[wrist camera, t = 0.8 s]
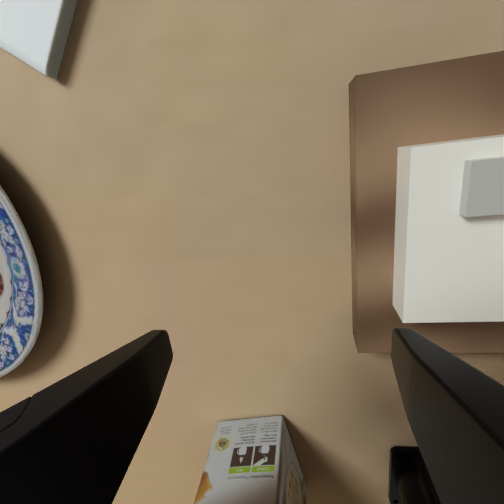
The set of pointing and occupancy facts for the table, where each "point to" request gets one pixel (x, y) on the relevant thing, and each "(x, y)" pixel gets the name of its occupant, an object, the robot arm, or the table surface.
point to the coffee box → (252, 465)
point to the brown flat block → (385, 179)
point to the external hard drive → (36, 31)
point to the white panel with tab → (450, 231)
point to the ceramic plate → (17, 290)
